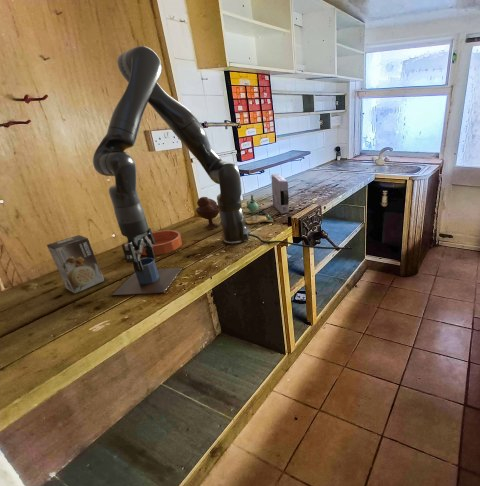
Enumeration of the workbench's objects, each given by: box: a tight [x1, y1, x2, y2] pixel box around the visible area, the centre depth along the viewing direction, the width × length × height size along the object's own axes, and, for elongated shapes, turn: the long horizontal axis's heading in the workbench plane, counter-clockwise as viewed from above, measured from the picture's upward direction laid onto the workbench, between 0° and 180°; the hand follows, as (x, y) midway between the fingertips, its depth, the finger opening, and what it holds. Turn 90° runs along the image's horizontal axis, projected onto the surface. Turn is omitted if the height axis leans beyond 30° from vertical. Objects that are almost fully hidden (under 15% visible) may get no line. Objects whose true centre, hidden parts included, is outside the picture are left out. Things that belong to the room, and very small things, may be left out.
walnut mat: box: [111, 267, 183, 297], centre depth 105 cm, size 16×16×1 cm
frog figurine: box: [242, 194, 275, 225], centre depth 153 cm, size 10×18×15 cm, turn 67°
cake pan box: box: [270, 173, 290, 215], centre depth 169 cm, size 19×5×18 cm, turn 23°
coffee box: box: [46, 234, 105, 294], centre depth 101 cm, size 9×6×16 cm
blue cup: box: [132, 257, 159, 285], centre depth 103 cm, size 6×6×7 cm
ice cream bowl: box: [195, 196, 219, 229], centre depth 147 cm, size 11×11×15 cm
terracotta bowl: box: [136, 229, 183, 257], centre depth 129 cm, size 17×17×4 cm
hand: (146, 264), depth 102 cm, fingers open, 8 cm apart
